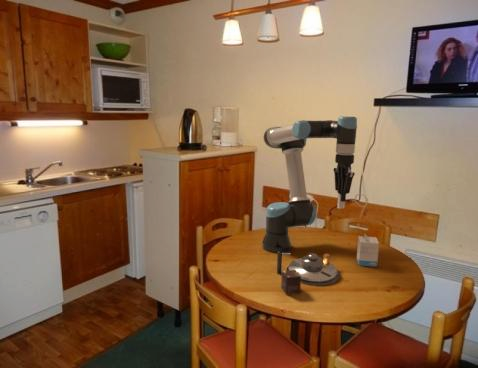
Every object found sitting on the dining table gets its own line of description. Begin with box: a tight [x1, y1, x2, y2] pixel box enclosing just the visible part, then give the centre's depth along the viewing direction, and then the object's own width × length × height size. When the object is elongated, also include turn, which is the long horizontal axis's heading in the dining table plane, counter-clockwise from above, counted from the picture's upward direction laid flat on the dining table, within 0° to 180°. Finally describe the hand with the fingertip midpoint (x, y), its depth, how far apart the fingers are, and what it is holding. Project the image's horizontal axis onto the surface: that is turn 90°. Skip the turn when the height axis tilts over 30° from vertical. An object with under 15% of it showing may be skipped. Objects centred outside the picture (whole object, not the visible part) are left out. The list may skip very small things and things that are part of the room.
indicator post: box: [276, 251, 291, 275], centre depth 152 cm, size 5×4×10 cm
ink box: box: [356, 233, 380, 268], centre depth 164 cm, size 9×8×13 cm
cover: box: [301, 252, 324, 272], centre depth 152 cm, size 9×9×6 cm
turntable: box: [288, 253, 338, 283], centre depth 153 cm, size 21×21×6 cm
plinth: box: [285, 265, 340, 287], centre depth 154 cm, size 23×23×1 cm
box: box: [280, 270, 302, 296], centre depth 138 cm, size 6×6×7 cm
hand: (340, 208), depth 150 cm, fingers closed
